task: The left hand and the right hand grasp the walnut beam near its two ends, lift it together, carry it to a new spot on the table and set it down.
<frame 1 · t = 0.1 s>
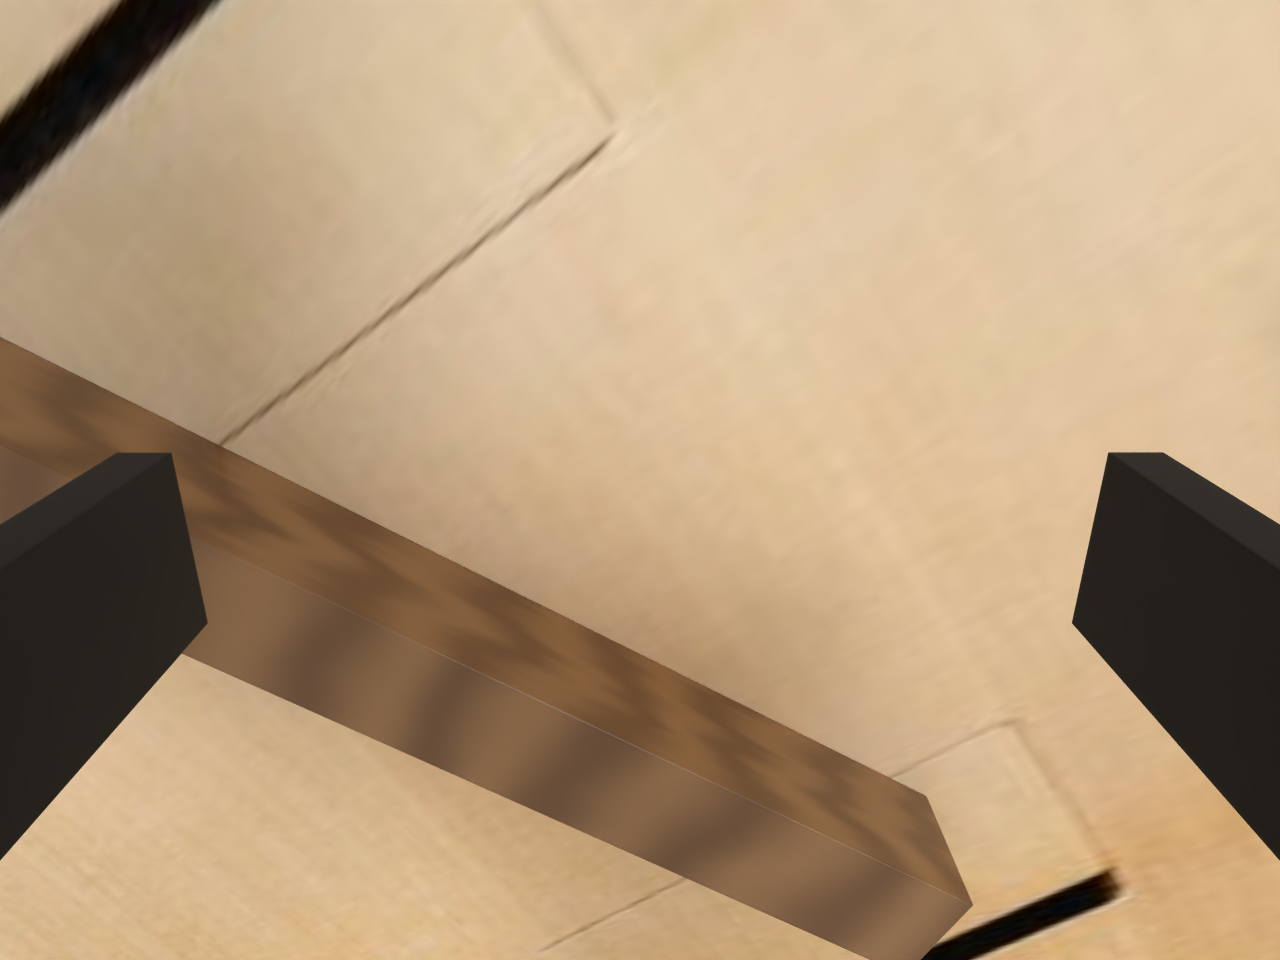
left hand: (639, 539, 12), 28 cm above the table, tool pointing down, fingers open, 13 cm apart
beam: (367, 573, 44), on the table
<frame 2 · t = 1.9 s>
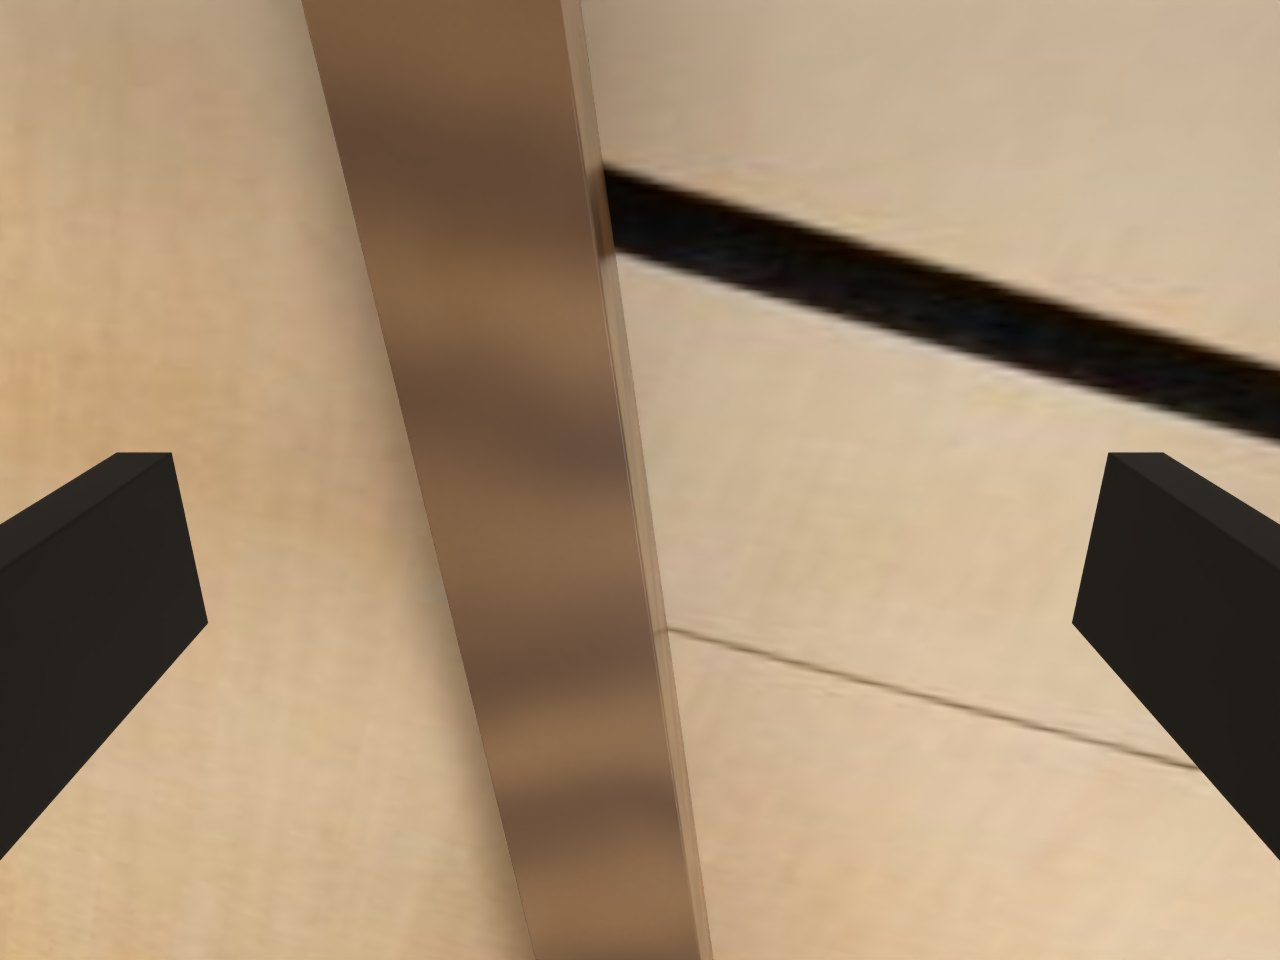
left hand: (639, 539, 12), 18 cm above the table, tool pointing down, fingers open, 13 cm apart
beam: (626, 816, 37), on the table
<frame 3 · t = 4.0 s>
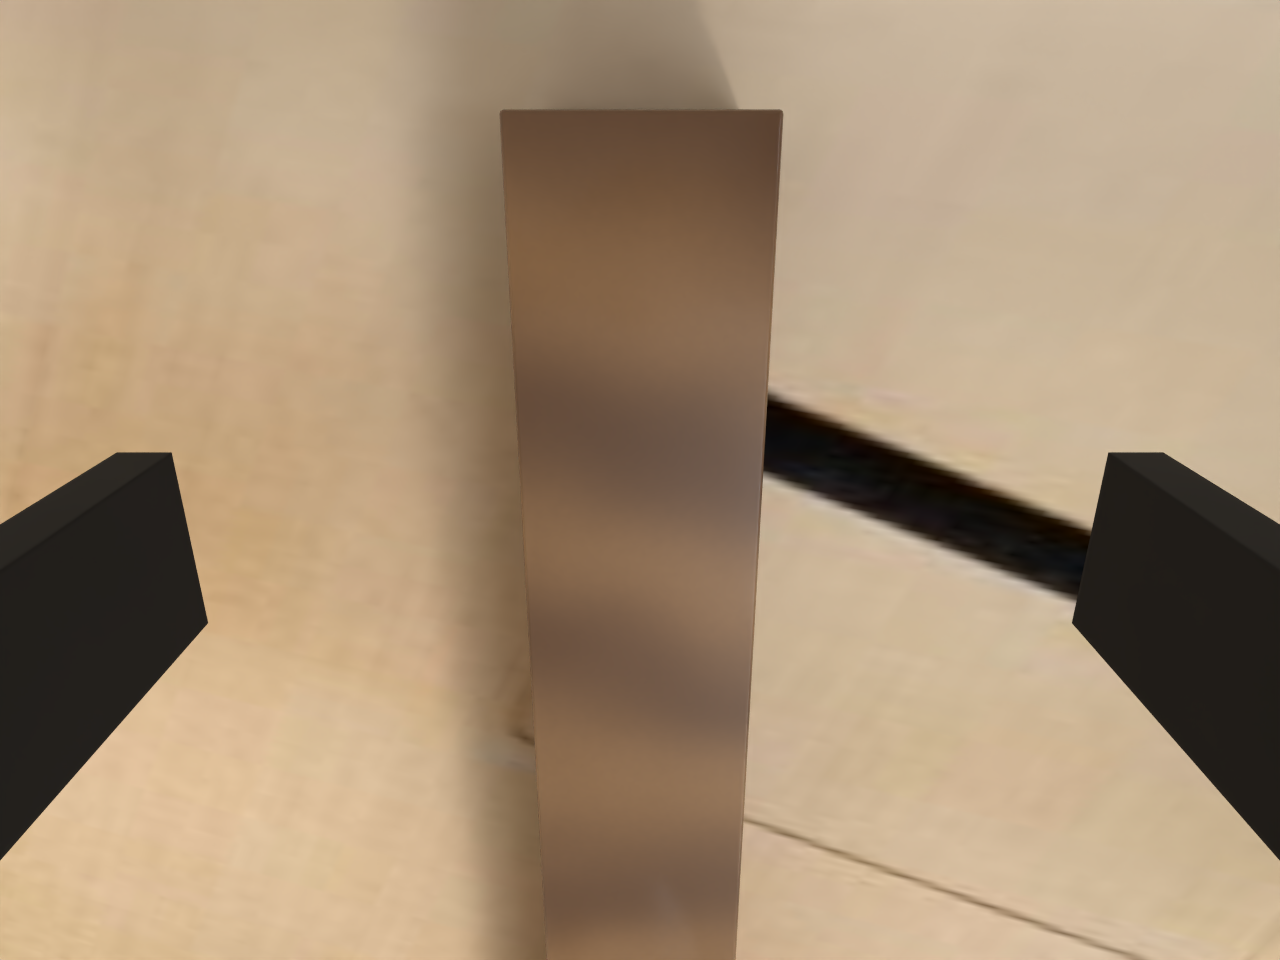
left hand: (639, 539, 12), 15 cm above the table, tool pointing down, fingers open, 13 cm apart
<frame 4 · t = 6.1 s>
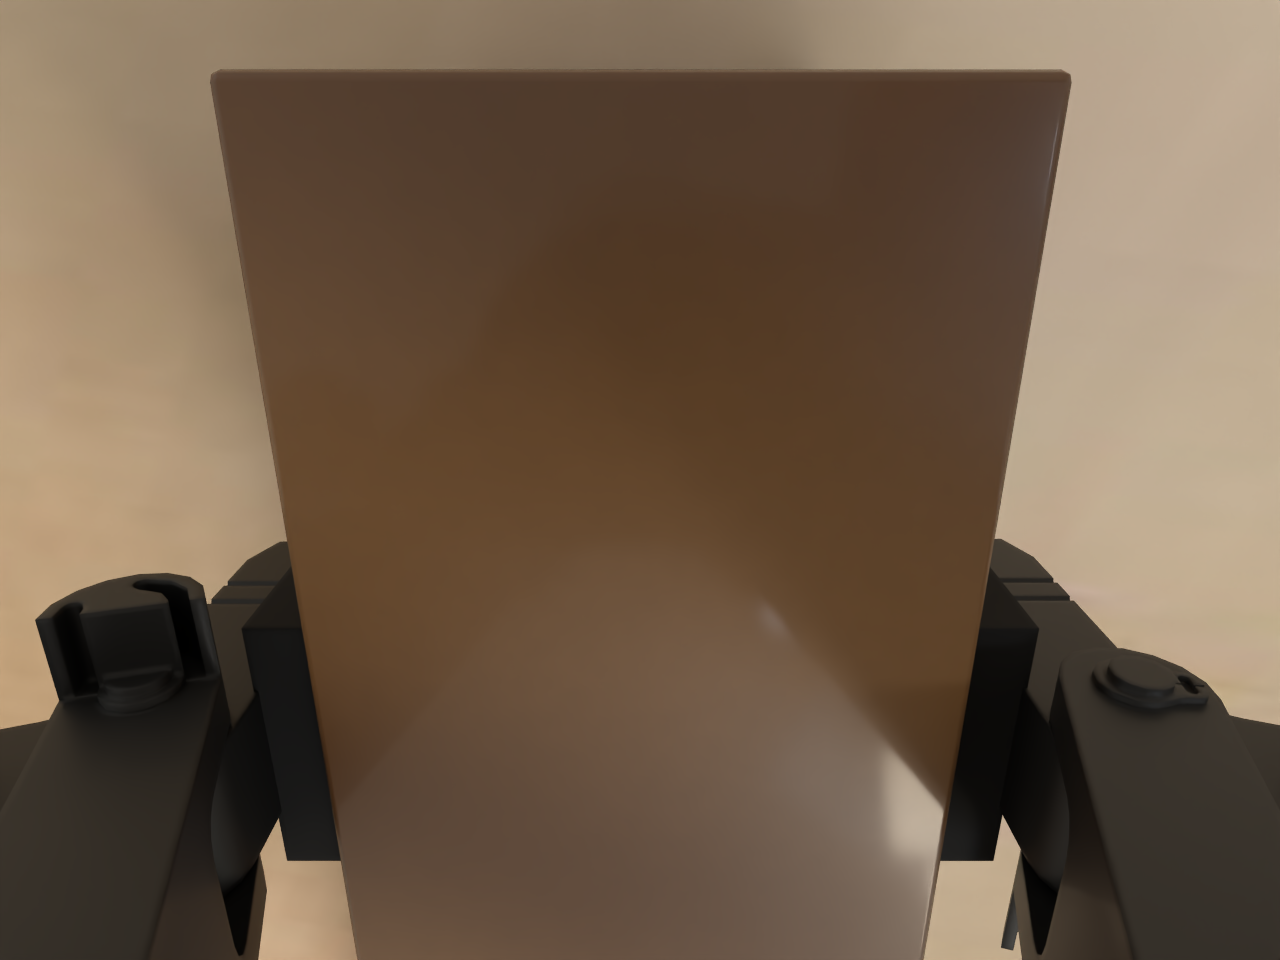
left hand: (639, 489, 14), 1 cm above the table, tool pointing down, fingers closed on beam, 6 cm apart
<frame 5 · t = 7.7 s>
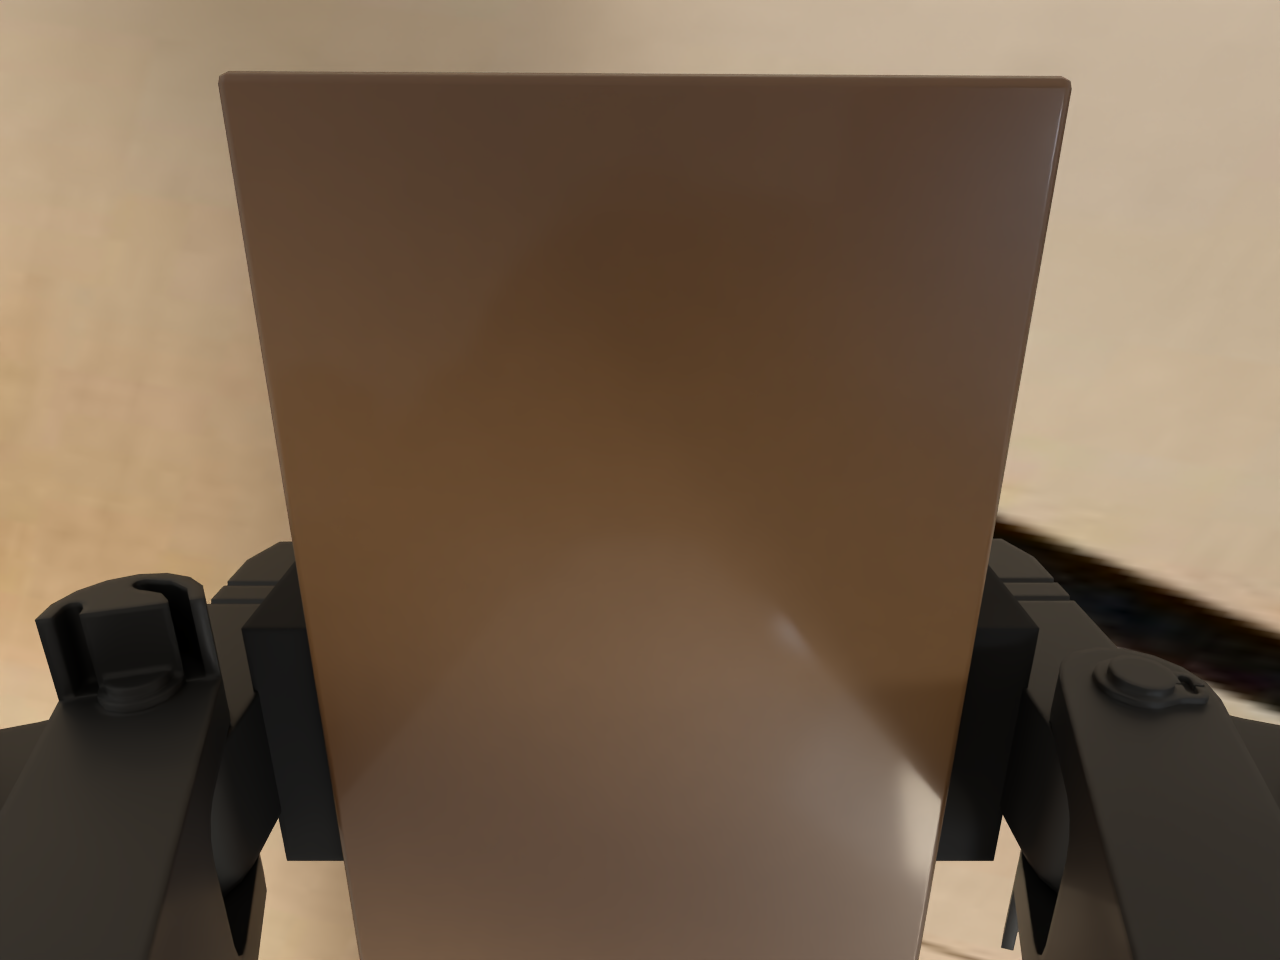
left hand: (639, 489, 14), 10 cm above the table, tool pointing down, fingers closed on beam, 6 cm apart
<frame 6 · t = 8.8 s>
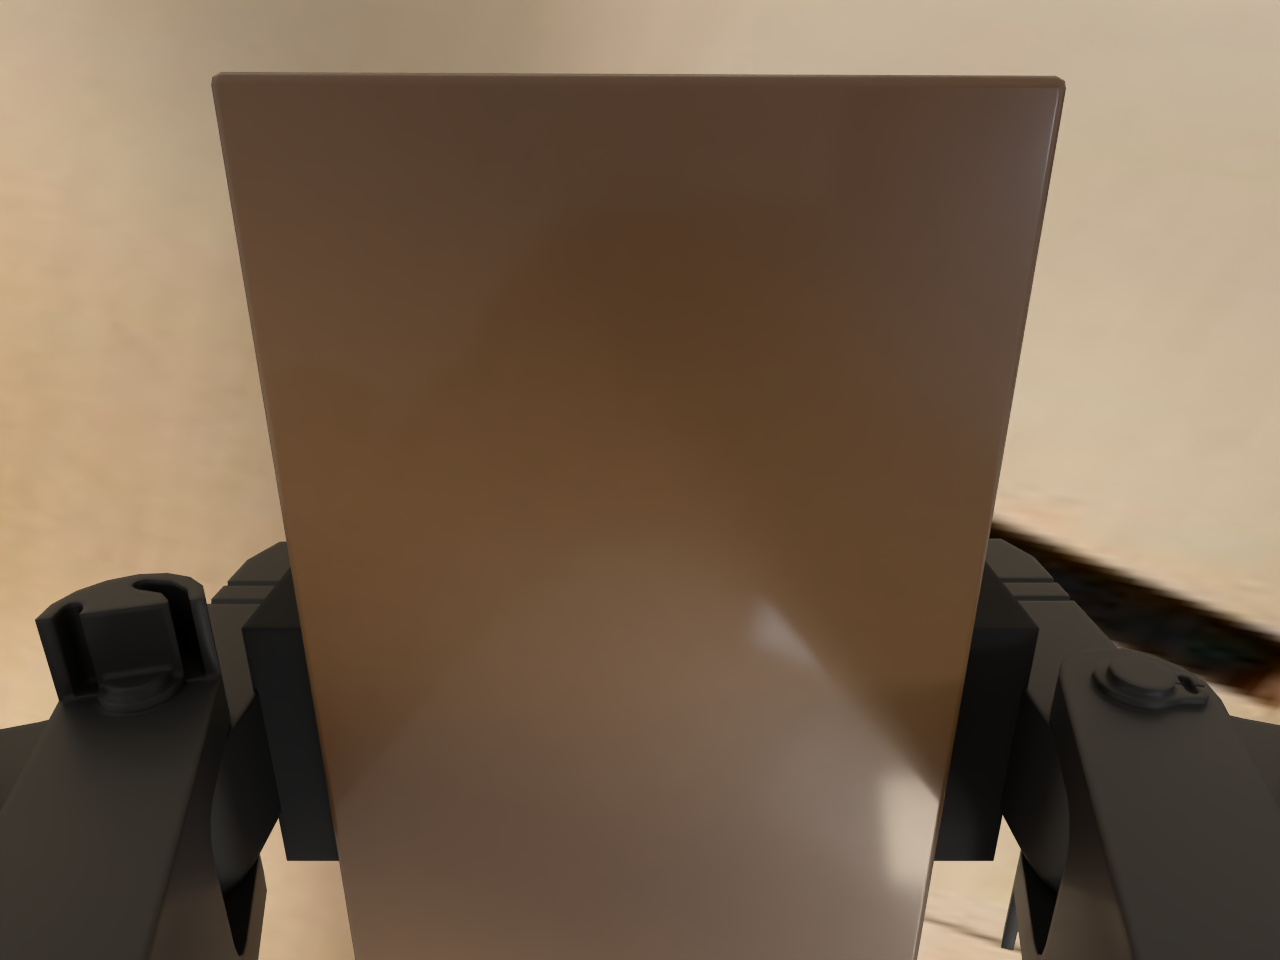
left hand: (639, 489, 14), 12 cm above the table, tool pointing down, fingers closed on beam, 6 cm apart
when the left hand's fingers open (2 cm above the table, at t = 11.4 s): beam stays where it is, on the table.
when the right hand's fingers open (4 cm above the table, at t = 11.6 s): beam stays where it is, on the table.
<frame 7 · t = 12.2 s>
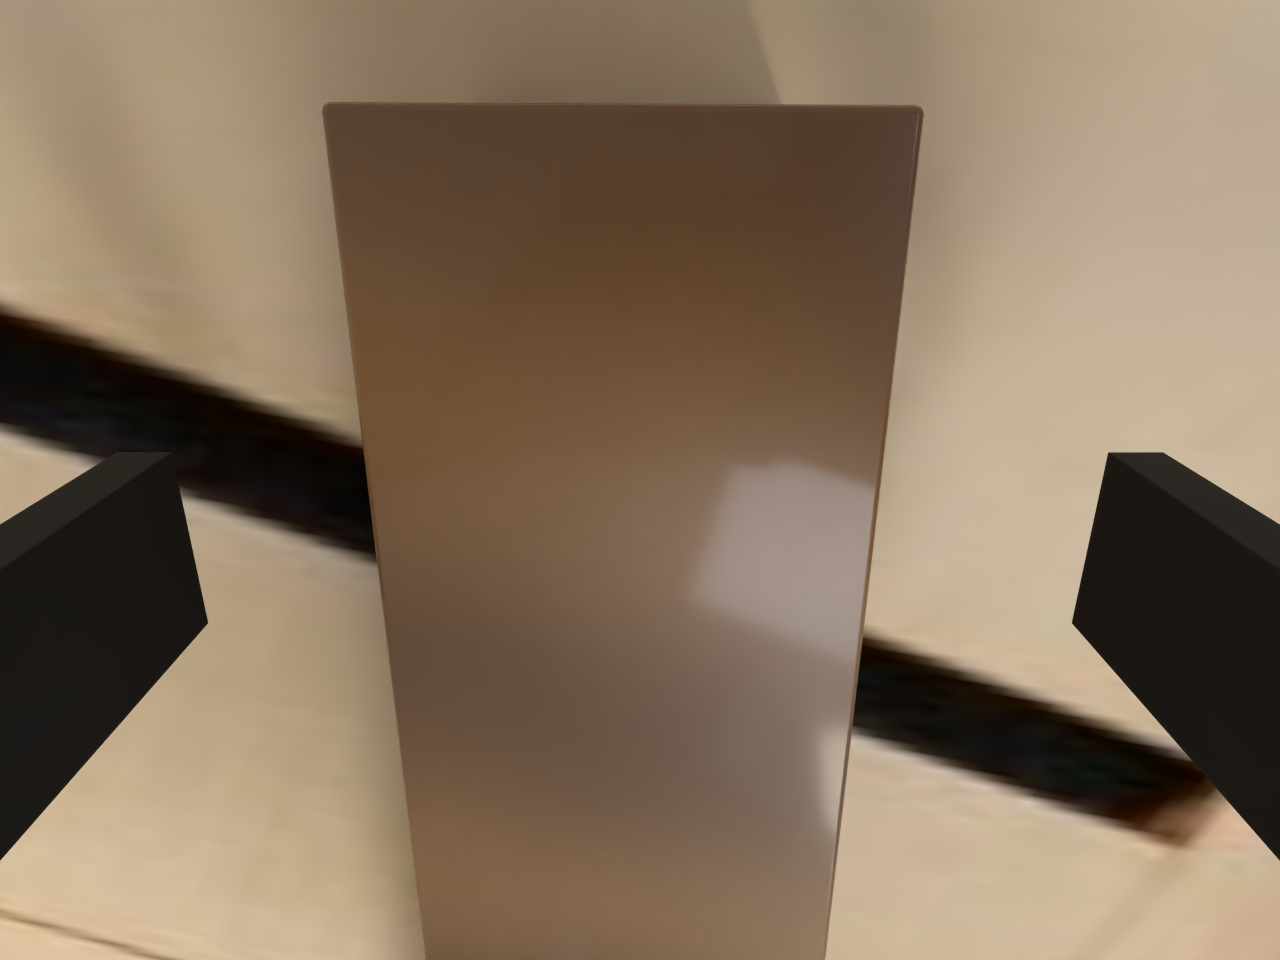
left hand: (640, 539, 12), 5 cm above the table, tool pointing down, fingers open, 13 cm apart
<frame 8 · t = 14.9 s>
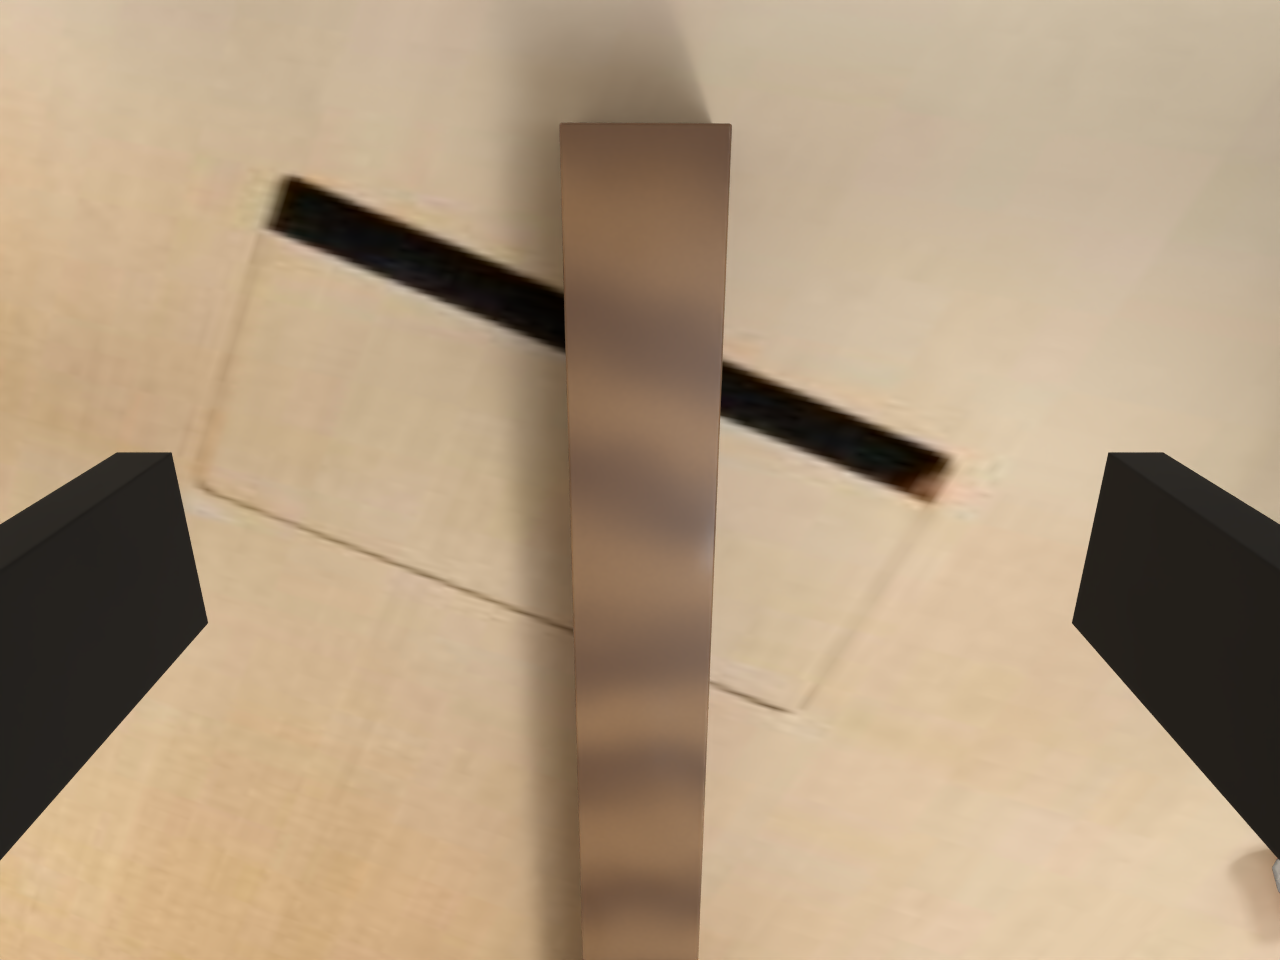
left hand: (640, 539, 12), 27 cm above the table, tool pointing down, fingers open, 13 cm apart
beam: (640, 782, 48), on the table
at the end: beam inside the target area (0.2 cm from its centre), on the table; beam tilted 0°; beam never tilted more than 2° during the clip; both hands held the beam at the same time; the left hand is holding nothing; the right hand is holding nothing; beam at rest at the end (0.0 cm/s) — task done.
